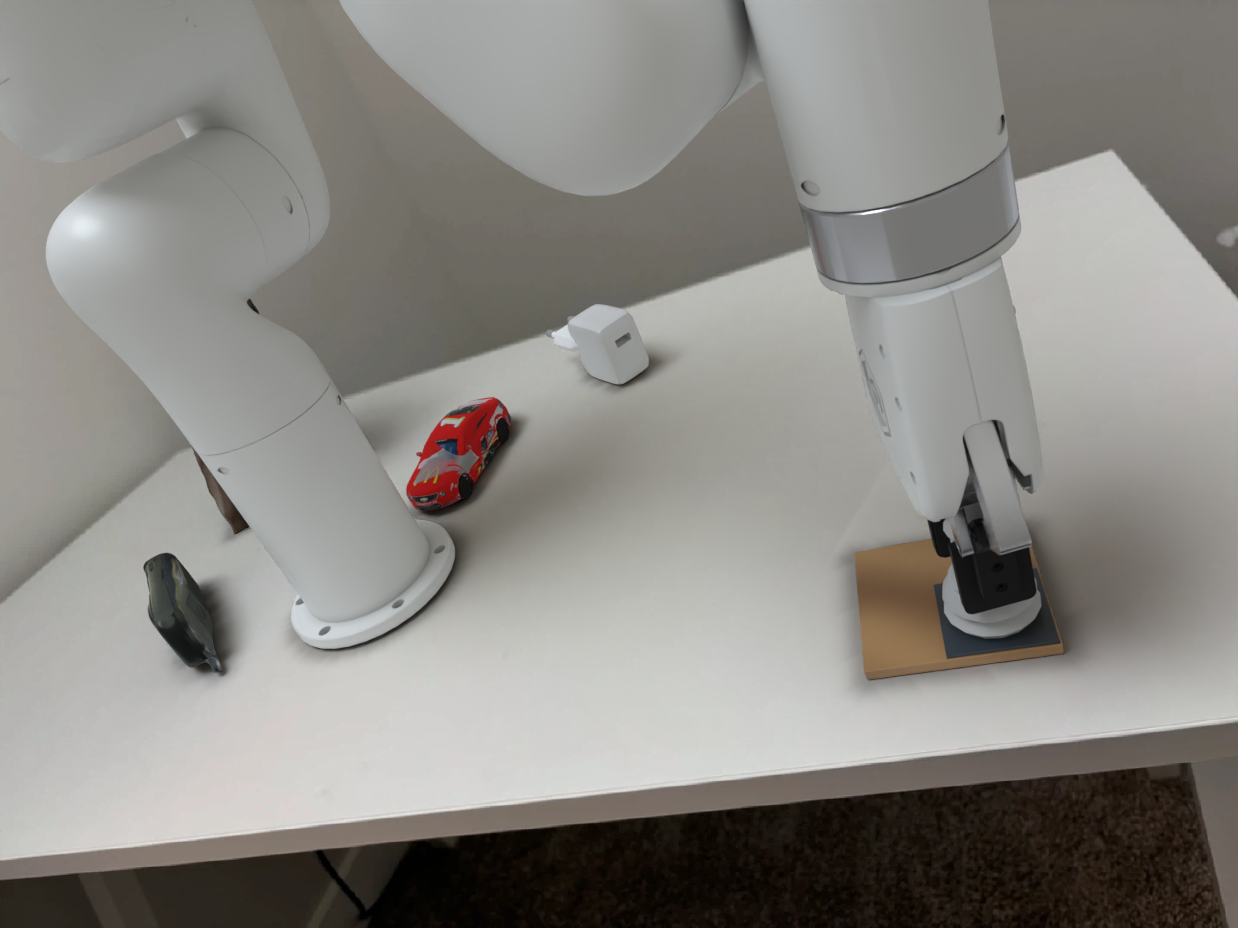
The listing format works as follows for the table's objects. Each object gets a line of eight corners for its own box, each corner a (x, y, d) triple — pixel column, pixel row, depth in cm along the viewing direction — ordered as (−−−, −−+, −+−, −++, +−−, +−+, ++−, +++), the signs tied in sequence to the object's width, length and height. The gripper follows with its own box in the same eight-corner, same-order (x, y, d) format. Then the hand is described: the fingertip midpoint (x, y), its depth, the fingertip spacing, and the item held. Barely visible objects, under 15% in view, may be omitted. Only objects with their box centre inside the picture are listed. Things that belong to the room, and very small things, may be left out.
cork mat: (856, 559, 54) (853, 549, 53) (1025, 530, 51) (1023, 518, 50) (866, 680, 46) (863, 669, 46) (1064, 653, 44) (1062, 641, 43)
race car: (459, 516, 74) (436, 475, 72) (404, 521, 76) (381, 482, 74) (524, 418, 83) (506, 380, 81) (474, 425, 86) (454, 389, 84)
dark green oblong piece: (133, 562, 76) (151, 641, 64) (168, 541, 77) (192, 615, 65) (170, 607, 79) (194, 691, 66) (203, 586, 80) (233, 665, 67)
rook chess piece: (926, 605, 48) (895, 480, 44) (1003, 565, 48) (979, 438, 44) (981, 658, 44) (952, 527, 40) (1064, 615, 44) (1043, 480, 40)
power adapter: (552, 369, 90) (527, 315, 87) (591, 343, 92) (568, 289, 89) (617, 393, 81) (592, 333, 78) (659, 363, 83) (636, 304, 80)
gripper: (776, 187, 43) (864, 499, 53) (862, 338, 29) (961, 728, 39) (940, 127, 42) (1001, 458, 51) (1112, 255, 28) (1152, 679, 37)
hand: (983, 570), depth 45 cm, fingers closed on rook chess piece, 3 cm apart
